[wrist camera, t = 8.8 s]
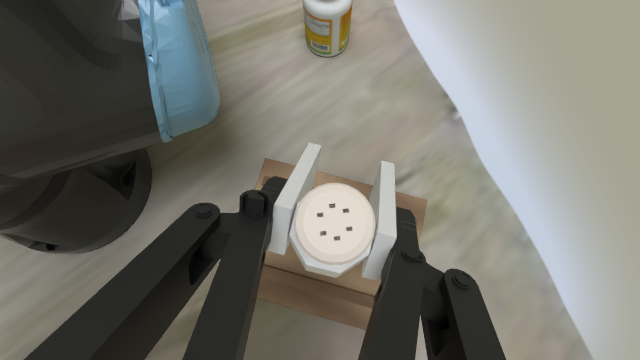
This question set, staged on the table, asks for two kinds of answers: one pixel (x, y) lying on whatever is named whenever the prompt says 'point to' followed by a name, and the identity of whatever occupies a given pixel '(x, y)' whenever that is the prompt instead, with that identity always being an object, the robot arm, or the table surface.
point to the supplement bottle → (327, 25)
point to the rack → (316, 289)
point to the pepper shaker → (332, 229)
